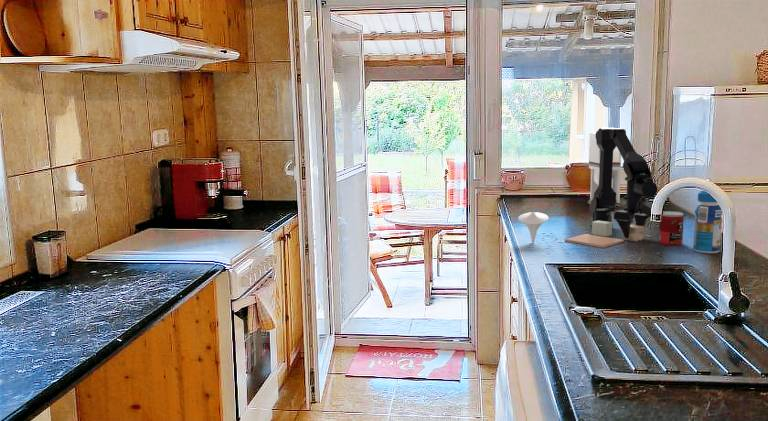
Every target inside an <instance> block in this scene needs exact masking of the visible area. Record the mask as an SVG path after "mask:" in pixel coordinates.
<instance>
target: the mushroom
mask: <svg viewBox="0 0 768 421" xmlns="http://www.w3.org/2000/svg"><path fill="white" fill-rule="evenodd" d="M517 220H518V221H519V222H520V223H522V224H523V225H525V227H527V229H528V232H529V235H530V239H531V243H533V244H535V240H536V235H537V232H538V230H539V228H540V226H542V224H544V223H546V222H548V221H549V216H548V215H547V214H546V213H542V212H537V211H536V212H534V210H532V212H531V211H530V212H526V213H525V212H524V213H522V214H520V215H519V216H518V218H517Z"/></svg>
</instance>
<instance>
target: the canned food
mask: <svg viewBox="0 0 768 421" xmlns="http://www.w3.org/2000/svg"><path fill="white" fill-rule="evenodd" d="M662 212H663V214H662V221H661V222H659V221H658V222H659V226H658V227H659V228H658V243H659V244H660V245H662V246H668V247H679V246H682V244H683V238H684V236H683V235H684V218H685V216H684V212H679V211H670V210H669V211H667V210H666V211H662Z"/></svg>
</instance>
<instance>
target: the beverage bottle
mask: <svg viewBox="0 0 768 421" xmlns="http://www.w3.org/2000/svg"><path fill="white" fill-rule="evenodd" d="M705 191H706V190H701V191H700V190H699V191H698V192H697V202H698V204H697V206H696V208H695V210H694V214H695V216H694V218H693V222H694V223H693V224H694V225H693V226H694V227H693V245H692V246H693V247H692V249H693V251H694V252H695V253H701V254H718V253H719V252H721V238H722V237H721V235H722V224H723V219H722V215H723V210H722V208H721V206H720V204H719V203H718V202H717V201H716V200H715V199H714V198H713V197H712V196H711V195H710V194H709V193H707V192H705ZM721 210H722V211H721Z"/></svg>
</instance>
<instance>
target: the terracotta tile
mask: <svg viewBox="0 0 768 421" xmlns="http://www.w3.org/2000/svg"><path fill="white" fill-rule="evenodd" d="M564 242H568V243H573V244H578V245H579V244H580V245H584V246H590V247H597V248H604V249H605V248H609V247H612V246H616V245H618V244H622V243H625V240H623V239H619V238H614V237H609V236H599V235H593V234H587V233H584V234H581V235H576V236H573V237H568V238H565V239H564Z"/></svg>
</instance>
